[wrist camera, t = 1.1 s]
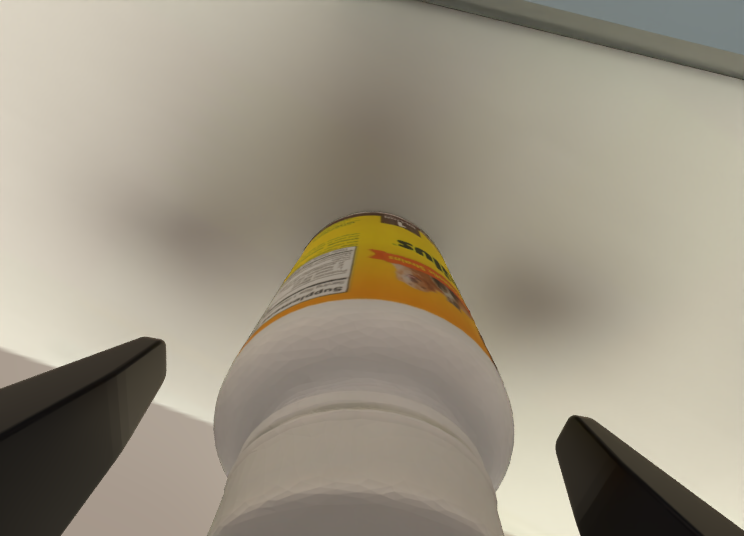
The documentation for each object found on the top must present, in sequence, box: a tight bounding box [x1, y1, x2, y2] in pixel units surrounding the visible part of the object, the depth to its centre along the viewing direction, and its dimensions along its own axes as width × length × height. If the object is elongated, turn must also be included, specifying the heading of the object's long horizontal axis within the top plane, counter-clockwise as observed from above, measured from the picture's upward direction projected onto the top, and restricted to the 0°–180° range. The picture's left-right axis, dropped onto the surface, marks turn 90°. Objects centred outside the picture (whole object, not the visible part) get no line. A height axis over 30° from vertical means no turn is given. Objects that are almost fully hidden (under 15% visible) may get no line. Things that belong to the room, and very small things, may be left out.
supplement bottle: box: [207, 212, 514, 536], centre depth 9 cm, size 6×6×10 cm
